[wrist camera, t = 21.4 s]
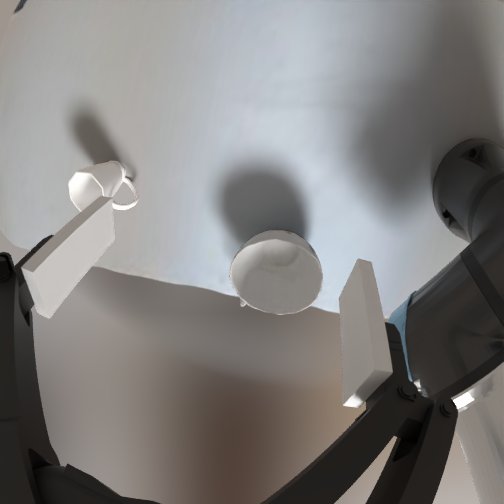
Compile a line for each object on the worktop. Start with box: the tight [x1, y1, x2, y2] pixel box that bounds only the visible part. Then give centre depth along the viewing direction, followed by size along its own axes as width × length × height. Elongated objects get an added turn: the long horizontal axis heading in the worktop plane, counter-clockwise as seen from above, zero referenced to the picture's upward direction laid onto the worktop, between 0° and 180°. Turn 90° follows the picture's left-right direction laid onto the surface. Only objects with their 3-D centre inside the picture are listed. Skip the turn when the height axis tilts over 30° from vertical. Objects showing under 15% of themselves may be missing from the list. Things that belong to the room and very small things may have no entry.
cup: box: [68, 161, 139, 211], centre depth 41 cm, size 7×10×8 cm
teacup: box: [229, 230, 323, 315], centre depth 44 cm, size 15×12×8 cm
